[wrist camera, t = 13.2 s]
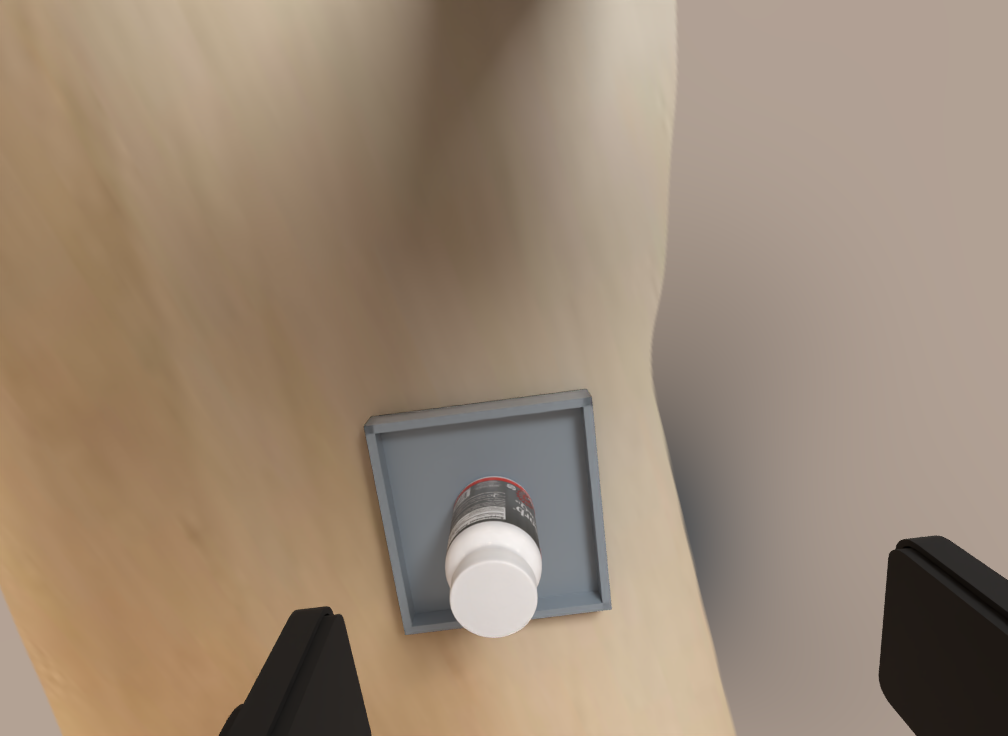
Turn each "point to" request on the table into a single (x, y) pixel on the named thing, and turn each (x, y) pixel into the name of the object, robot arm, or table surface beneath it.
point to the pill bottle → (493, 558)
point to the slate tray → (481, 453)
